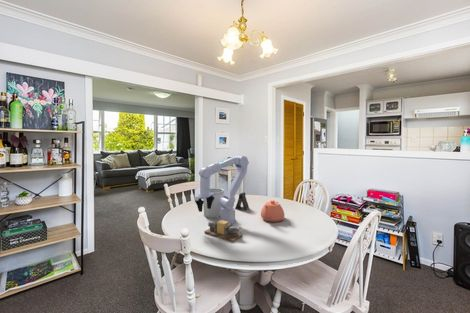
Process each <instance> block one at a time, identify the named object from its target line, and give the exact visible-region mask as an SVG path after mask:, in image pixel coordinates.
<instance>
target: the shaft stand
mask: <svg viewBox="0 0 470 313" xmlns="http://www.w3.org/2000/svg"><path fill="white" fill-rule="evenodd" d="M217 222H218V221H212V220H209V221H208V222H207V224H208V225H207V226H208V227H209V228H208V229H205V230H203V231H204V234H206V235H208V236H211V237H215V238H218V239H220V240H221V239H222V240H225V241H227V242H230V243H234V242H236V241H238V240H240V239H241V238H242V237H243V236H244V235H243V233H240V232H241V227H240V226H233V223H231V224H229V225H228V226H226V227H225V235H223V234H220V233H217Z"/></svg>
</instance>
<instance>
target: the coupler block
mask: <svg viewBox="0 0 470 313" xmlns="http://www.w3.org/2000/svg"><path fill="white" fill-rule="evenodd" d="M216 222H217V233H220V234H223V235H225V227H226V226H228V222H227V221H223V220H221V219H220V220H219V221H216Z"/></svg>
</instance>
